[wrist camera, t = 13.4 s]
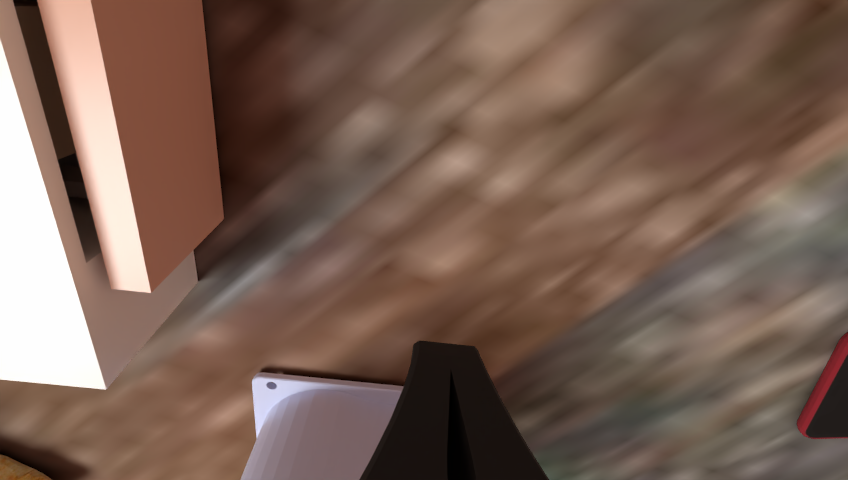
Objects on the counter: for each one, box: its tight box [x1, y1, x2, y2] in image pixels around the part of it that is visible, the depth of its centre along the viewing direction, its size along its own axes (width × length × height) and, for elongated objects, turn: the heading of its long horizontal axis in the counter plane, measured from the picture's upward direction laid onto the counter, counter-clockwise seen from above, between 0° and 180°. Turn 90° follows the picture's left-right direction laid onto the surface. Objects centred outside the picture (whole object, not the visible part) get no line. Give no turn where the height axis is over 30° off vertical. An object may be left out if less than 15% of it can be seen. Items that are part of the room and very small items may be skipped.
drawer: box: [37, 0, 224, 293], centre depth 13 cm, size 9×11×5 cm
